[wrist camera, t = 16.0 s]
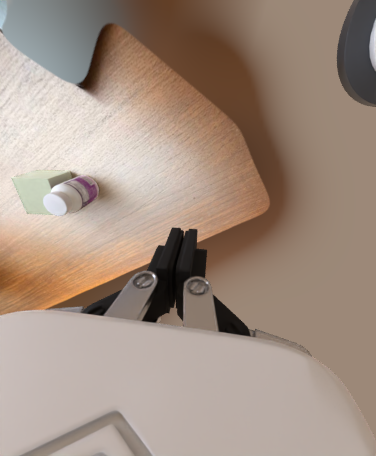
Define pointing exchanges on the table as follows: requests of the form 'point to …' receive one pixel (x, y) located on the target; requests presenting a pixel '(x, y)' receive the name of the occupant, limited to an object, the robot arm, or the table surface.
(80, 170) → the table surface
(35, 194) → the sage block
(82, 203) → the pill bottle
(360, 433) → the robot arm
